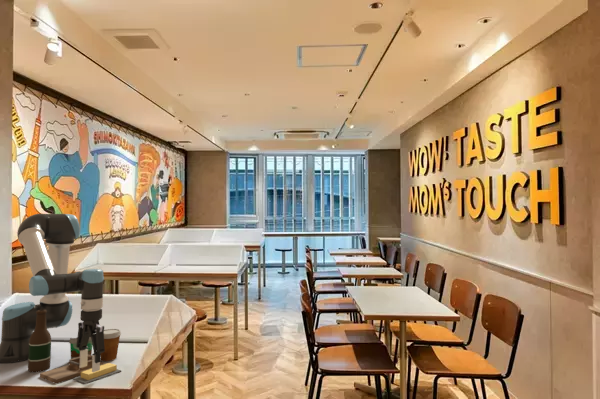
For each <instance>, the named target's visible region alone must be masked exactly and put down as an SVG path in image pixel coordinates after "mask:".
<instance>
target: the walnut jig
mask: <svg viewBox="0 0 600 399" xmlns="http://www.w3.org/2000/svg"><path fill="white" fill-rule="evenodd" d="M104 364H106V363H104V362H102V360H101V357H100V366H101V365H104ZM79 366H80V357H77V358H73V359H71V358H70V359H69V360H68V364H67V365H63V366H59V367H57V368H52V369H48V370H45V371H42V372H39V378H41V379H43V380H46V381H49V382H50V383H53V382H54V383H53V384H55V383H57V384H59V382H60V383H62V381H63V382H66V381H68V380H73V378H76V377H79V376H81V372H83V371H86V370H89V369H92V354H91V355H89V354H88V360H87V366H85V367H82V368H79Z"/></svg>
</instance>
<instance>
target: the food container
mask: <svg viewBox="0 0 600 399" xmlns="http://www.w3.org/2000/svg"><path fill="white" fill-rule="evenodd" d="M68 344H69V347H70V359H73V358H77V357H80V350H79V348H77V347H76V345H77V337H75V338H74V337H70V339H69V341H68ZM87 346H88V348H86V349H88V354H89V355H92V354H93V353H92V352H93V345H92V340H91V337H89V341H88V344H87Z"/></svg>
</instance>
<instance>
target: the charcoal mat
mask: <svg viewBox="0 0 600 399" xmlns="http://www.w3.org/2000/svg"><path fill="white" fill-rule="evenodd" d="M118 373H122V370H121V369H118V368H117V370H115V371H113V372H110V373H107V374H104V375H101V376H98V377H95V378H93V379H90V380H87V379H84V378H81V376H78V377H75V378H72V380H73V381H75V382H78V383H81V384H83V385H87V384H89V383H93V382H96V381H99V380H101V379H104V378H106V377H107V378H108V377H111V376H112V375H113V376H114V375H115V374H118Z"/></svg>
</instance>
